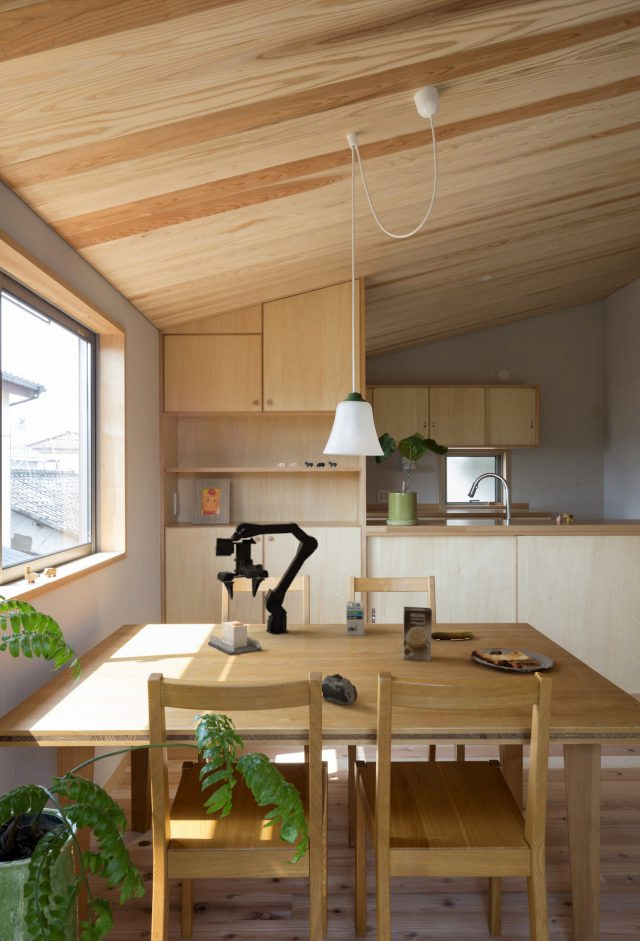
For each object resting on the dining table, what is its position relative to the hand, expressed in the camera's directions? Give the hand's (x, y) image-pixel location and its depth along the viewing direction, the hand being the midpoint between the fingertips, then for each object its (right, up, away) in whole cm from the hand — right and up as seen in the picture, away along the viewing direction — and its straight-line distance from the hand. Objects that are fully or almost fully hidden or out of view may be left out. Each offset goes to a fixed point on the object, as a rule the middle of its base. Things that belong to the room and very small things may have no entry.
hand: (242, 598), depth 260 cm
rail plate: (-1, -13, -21) cm, 24 cm away
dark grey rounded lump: (+35, -14, -75) cm, 83 cm away
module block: (0, -12, -21) cm, 24 cm away
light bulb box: (+42, -14, +4) cm, 44 cm away
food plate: (+89, -14, -37) cm, 98 cm away
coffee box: (+60, -14, -32) cm, 69 cm away
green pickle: (+77, -15, -4) cm, 79 cm away
